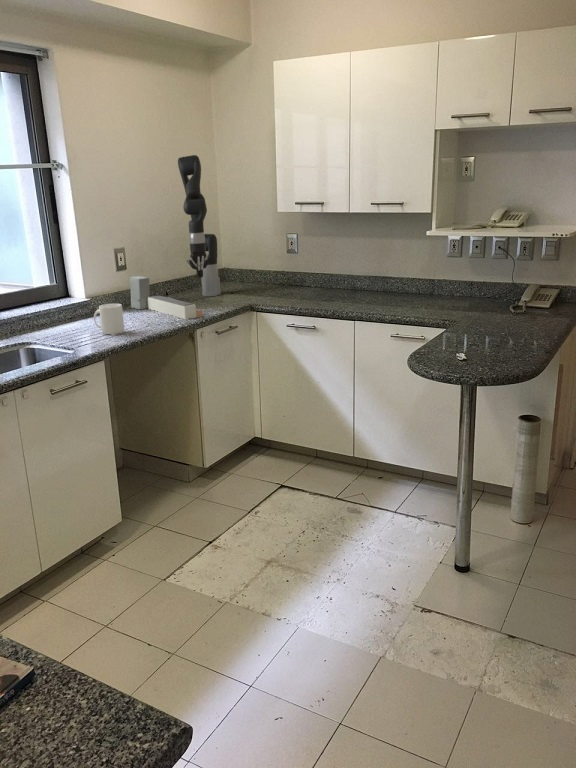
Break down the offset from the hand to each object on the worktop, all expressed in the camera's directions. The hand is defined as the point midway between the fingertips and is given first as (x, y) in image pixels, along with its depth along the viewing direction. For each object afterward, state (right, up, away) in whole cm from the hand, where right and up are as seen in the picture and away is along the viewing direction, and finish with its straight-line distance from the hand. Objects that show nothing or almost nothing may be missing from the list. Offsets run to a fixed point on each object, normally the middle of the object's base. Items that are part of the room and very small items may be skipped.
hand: (200, 277), depth 322 cm
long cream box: (-12, -18, -5) cm, 22 cm away
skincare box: (-31, -14, +10) cm, 35 cm away
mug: (-33, -31, -42) cm, 62 cm away
